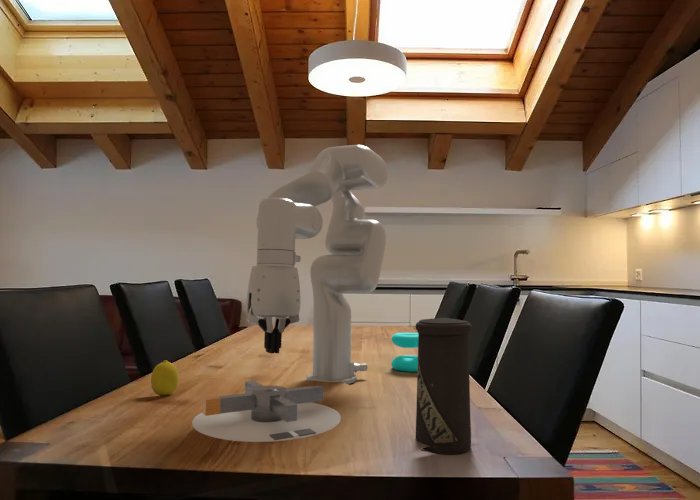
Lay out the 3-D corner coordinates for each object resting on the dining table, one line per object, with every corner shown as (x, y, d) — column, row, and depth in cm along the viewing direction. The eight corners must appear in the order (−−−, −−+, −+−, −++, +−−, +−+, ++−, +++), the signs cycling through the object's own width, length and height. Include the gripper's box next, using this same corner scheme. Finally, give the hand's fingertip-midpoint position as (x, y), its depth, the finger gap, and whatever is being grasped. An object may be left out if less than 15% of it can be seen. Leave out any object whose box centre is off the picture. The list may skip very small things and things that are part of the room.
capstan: (298, 398, 105) (298, 373, 105) (348, 424, 86) (348, 395, 87) (189, 411, 94) (190, 384, 94) (221, 445, 76) (221, 411, 76)
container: (409, 437, 83) (410, 315, 84) (463, 436, 84) (463, 315, 85) (421, 456, 75) (422, 320, 76) (480, 455, 76) (480, 320, 76)
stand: (304, 399, 108) (304, 393, 108) (368, 432, 85) (368, 425, 86) (177, 414, 95) (178, 407, 95) (214, 459, 73) (214, 450, 73)
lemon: (169, 402, 104) (170, 363, 104) (144, 400, 105) (146, 361, 105) (183, 396, 109) (184, 358, 110) (159, 394, 110) (161, 357, 111)
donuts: (428, 332, 148) (425, 336, 139) (427, 367, 148) (425, 373, 138) (394, 331, 150) (389, 335, 141) (393, 365, 150) (389, 371, 140)
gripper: (301, 262, 109) (299, 349, 107) (233, 258, 101) (229, 352, 100) (317, 261, 102) (314, 353, 101) (245, 257, 95) (241, 356, 93)
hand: (272, 352), depth 100 cm, fingers closed
